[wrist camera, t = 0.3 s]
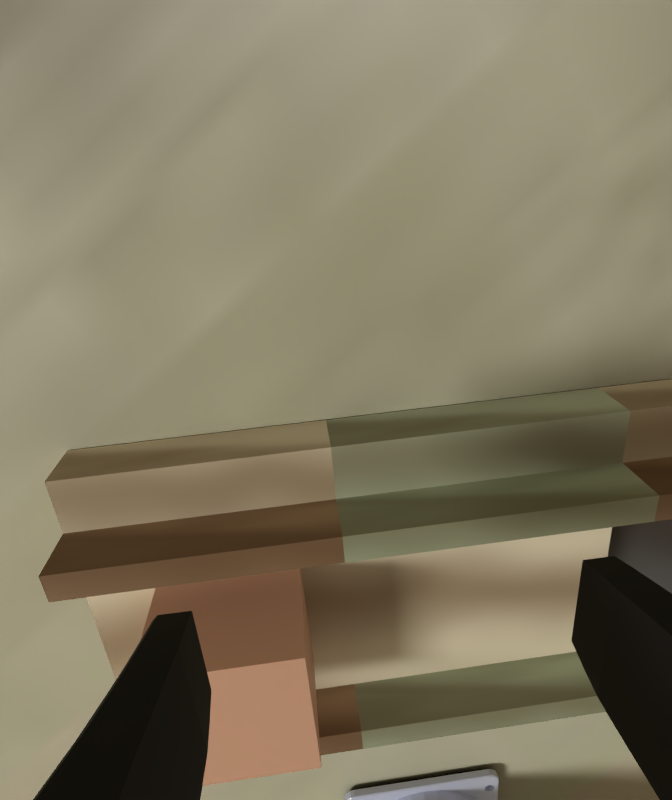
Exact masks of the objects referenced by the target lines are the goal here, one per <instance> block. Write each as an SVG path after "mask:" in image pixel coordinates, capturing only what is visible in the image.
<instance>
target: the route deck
mask: <svg viewBox="0 0 672 800" xmlns="http://www.w3.org/2000/svg"><path fill="white" fill-rule="evenodd" d="M45 485H46V487H47V490H48V493H49V496H50V498H51V501H52V504H53V507H54V509H55V512H56V515H57V518H58V520H59V523H60V526H61V529H62V531H63V535H62V537H61V538H60V540H59V542H58V544H57V545H56V547H55V549H54V551H53V552H52V554H51V556H50V558H49V559H48V561H47V563H46V564H45V566H44V568H43V570H42V571H41V573H40V575H39V579H40V581H41V584H42V586H43V589H44V591H45V594H46V596H47V599H48V601H49V602H54V601H61V600H69V599H76V598H84V597H86V598H87V601H88V603H89V606H90V609H91V612H92V614H93V617H94V620H95V623H96V625H97V628H98V631H99V634H100V637H101V639H102V642H103V645H104V648H105V650H106V653H107V656H108V659H109V661H110V664H111V667H112V670H113V672H114V675H115V678H116V679H117V678H118V676H119V675H120V673H121V671H122V670H123V668H124V667H125V665H126V664H127V662H128V660H129V659H130V657H131V655H132V654H133V652H134V651H135V649H136V647H137V646H138V644H139V642H140V640H141V637H142V633H143V630H144V626H145V623H146V619H147V616H148V612H149V609H150V605H151V602H152V598H153V595H154V591H155V588H159V587H166V586H174V585H181V584H189V583H197V582H204V581H212V580H219V579H227V578H234V577H242V576H249V575H257V574H264V573H272V572H279V571H287V570H294V569H301V575H302V582H303V589H304V596H305V603H306V610H307V617H308V624H309V631H310V638H311V645H312V652H313V660H314V670H315V684H316V698H317V713H318V727H319V741H320V755H325V754H331V753H338V752H345V751H351V750H358V749H364V748H371V747H377V746H384V745H390V744H397V743H404V742H410V741H417V740H423V739H430V738H436V737H443V736H450V735H456V734H463V733H469V732H476V731H482V730H489V729H495V728H502V727H509V726H515V725H522V724H528V723H535V722H541V721H548V720H554V719H561V718H568V717H574V716H581V715H587V714H594V713H600V712H606V710H605V709H604V707H603V705H602V704H601V702H600V700H599V699H598V697H597V695H596V693H595V691H594V689H593V687H592V685H591V682H590V680H589V678H588V676H587V674H586V672H585V670H584V668H583V666H582V663H581V661H580V659H579V657H578V654H577V652H576V650H575V648H574V645H573V643H572V641H571V640H572V633H573V626H574V619H575V611H576V604H577V597H578V590H579V583H580V576H581V569H582V562H583V560H587V559H595V558H603V557H610V556H615V557H617V558H619V559H620V560H622V561H623V562H625V563H626V564H628V565H630V566H631V567H633V568H634V569H636V570H637V571H639V572H640V573H642V574H643V575H645V576H646V577H648V578H649V579H651V580H652V581H654V582H655V583H657V584H658V585H660V586H661V587H663V588H664V589H666V590H667V591H669V592H670V593H672V379H668V380H660V381H651V382H643V383H634V384H626V385H617V386H609V387H600V388H592V389H583V390H575V391H567V392H558V393H550V394H541V395H533V396H524V397H516V398H507V399H499V400H491V401H482V402H474V403H465V404H457V405H448V406H440V407H431V408H423V409H415V410H406V411H398V412H389V413H381V414H372V415H364V416H355V417H347V418H339V419H330V420H322V421H313V422H305V423H296V424H288V425H279V426H271V427H263V428H254V429H246V430H237V431H229V432H220V433H212V434H203V435H195V436H187V437H178V438H170V439H161V440H153V441H144V442H136V443H127V444H119V445H111V446H102V447H94V448H85V449H77V450H68V451H67V452H66V453H65V455H64V456H63V457H62V459H61V460H60V461H59V463H58V464H57V466H56V467H55V468H54V470H53V471H52V472H51V474H50V475H49V477H48V478H47V479H46V481H45Z"/></svg>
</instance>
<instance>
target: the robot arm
mask: <svg viewBox="0 0 672 800" xmlns="http://www.w3.org/2000/svg"><path fill="white" fill-rule="evenodd" d="M571 641H572V643H573V645H574V648H575V650H576V652H577V654H578V657H579V659H580V661H581V663H582V666H583V668H584V670H585V672H586V674H587V676H588V678H589V680H590V682H591V685H592V687H593V689H594V691H595V693H596V695H597V697H598V699H599V700H600V702H601V704H602V705H603V707H604V709H605V710H606V712H607V714H608V715H609V717H610V719H611V720H612V722H613V724H614V725H615V727H616V729H617V730H618V732H619V734H620V735H621V737H622V739H623V740H624V742H625V744H626V745H627V747H628V749H629V750H630V752H631V753H632V755H633V757H634V758H635V760H636V762H637V763H638V765H639V766H640V768H641V770H642V771H643V773H644V775H645V776H646V778H647V779H648V781H649V783H650V784H651V786H652V788H653V789H654V791H655V793H656V794H657V796H658V797H659V799H660V800H672V593H670V592H669V591H667V590H666V589H664V588H663V587H661V586H660V585H658V584H657V583H655V582H654V581H652V580H651V579H649V578H648V577H646V576H645V575H643V574H642V573H640V572H639V571H637V570H636V569H634V568H633V567H631V566H630V565H628V564H626V563H625V562H623V561H622V560H620V559H619V558H617V557H615V556H610V557H603V558H595V559H587V560H583V562H582V569H581V576H580V583H579V590H578V597H577V604H576V611H575V619H574V626H573V633H572V640H571ZM210 708H211V686H210V682H209V678H208V674H207V670H206V666H205V662H204V658H203V654H202V650H201V646H200V642H199V638H198V633H197V629H196V625H195V621H194V617H193V613H192V611H185V612H178V613H170V614H162V615H157V616H156V617H155V618H154V620H153V621H152V622H151V624H150V626H149V627H148V629H147V631H146V632H145V634H144V636H143V637H142V639H141V641H140V642H139V644H138V646H137V647H136V649H135V651H134V652H133V654H132V655H131V657H130V659H129V660H128V662H127V664H126V665H125V667H124V668H123V670H122V671H121V673H120V675H119V676H118V678H117V679H116V681H115V683H114V684H113V686H112V687H111V689H110V690H109V692H108V693H107V695H106V696H105V698H104V699H103V701H102V702H101V704H100V705H99V707H98V708H97V710H96V711H95V713H94V714H93V716H92V717H91V719H90V720H89V722H88V723H87V725H86V726H85V728H84V729H83V731H82V732H81V734H80V735H79V737H78V738H77V740H76V741H75V743H74V744H73V745H72V747H71V748H70V750H69V751H68V752H67V754H66V755H65V757H64V758H63V759H62V761H61V762H60V763H59V765H58V766H57V768H56V769H55V770H54V772H53V773H52V774H51V776H50V777H49V779H48V780H47V781H46V783H45V784H44V785H43V787H42V788H41V790H40V791H39V792H38V794H37V795H36V796H35V798H34V799H33V800H200V797H201V791H202V784H203V778H204V772H205V766H206V760H207V753H208V740H209V725H210ZM498 787H499V778H498V775H497V772H496V771H495V770H493V769H484V770H478V771H471V772H465V773H458V774H452V775H446V776H439V777H433V778H426V779H420V780H414V781H407V782H401V783H395V784H388V785H382V786H375V787H369V788H363V789H356V790H352V791H349V792H348V793H347V794H346V795H345V800H498Z"/></svg>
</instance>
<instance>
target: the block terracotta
mask: <svg viewBox="0 0 672 800" xmlns="http://www.w3.org/2000/svg"><path fill="white" fill-rule="evenodd" d="M185 611H192V613H193V617H194V621H195V625H196V629H197V633H198V638H199V642H200V646H201V650H202V654H203V658H204V662H205V666H206V670H207V674H208V678H209V682H210V686H211V708H210V725H209V740H208V753H207V760H206V766H205V772H204V778H203V784H202V786H203V785H210V784H216V783H223V782H229V781H236V780H242V779H249V778H255V777H262V776H268V775H275V774H281V773H288V772H295V771H301V770H308V769H314V768H321V755H320V741H319V727H318V713H317V698H316V684H315V670H314V660H313V652H312V645H311V638H310V631H309V624H308V617H307V610H306V603H305V596H304V589H303V582H302V575H301V569H294V570H287V571H279V572H272V573H264V574H257V575H249V576H242V577H234V578H227V579H219V580H212V581H204V582H197V583H189V584H181V585H174V586H166V587H159V588H155V591H154V595H153V598H152V602H151V605H150V609H149V612H148V616H147V619H146V623H145V626H144V630H143V633H142V637H143V636H144V634H145V632H146V631H147V629H148V627H149V626H150V624H151V622H152V621H153V620H154V618H155V617H156V616H157V615H162V614H170V613H178V612H185ZM142 637H141V639H142ZM140 641H141V640H140Z"/></svg>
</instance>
